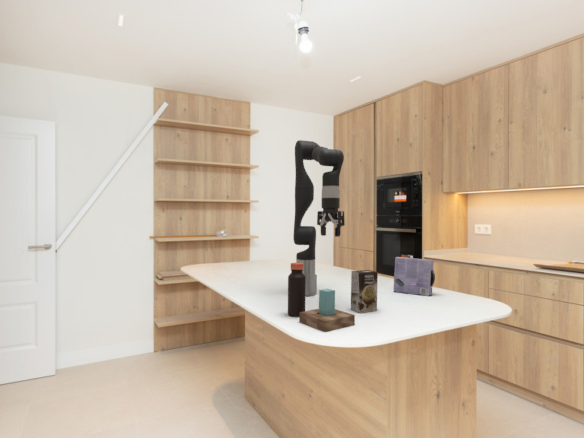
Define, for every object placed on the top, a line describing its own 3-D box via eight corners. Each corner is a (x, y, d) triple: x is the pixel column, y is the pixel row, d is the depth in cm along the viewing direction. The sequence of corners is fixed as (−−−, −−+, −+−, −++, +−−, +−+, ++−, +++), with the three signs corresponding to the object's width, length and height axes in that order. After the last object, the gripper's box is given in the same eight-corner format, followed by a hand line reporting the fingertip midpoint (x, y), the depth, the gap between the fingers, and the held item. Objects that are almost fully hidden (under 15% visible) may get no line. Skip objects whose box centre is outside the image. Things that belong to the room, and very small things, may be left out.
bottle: (299, 318, 141) (299, 265, 141) (284, 315, 145) (284, 263, 144) (308, 314, 147) (308, 263, 147) (293, 311, 150) (294, 261, 150)
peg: (327, 321, 137) (327, 288, 137) (334, 323, 134) (335, 290, 134) (318, 322, 135) (319, 289, 135) (326, 325, 132) (326, 291, 132)
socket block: (328, 315, 144) (328, 306, 144) (354, 324, 133) (354, 314, 133) (299, 321, 136) (299, 312, 136) (325, 331, 125) (325, 321, 125)
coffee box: (359, 313, 148) (360, 272, 148) (350, 309, 154) (350, 270, 154) (377, 310, 153) (378, 271, 152) (367, 307, 158) (368, 269, 158)
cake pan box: (434, 295, 184) (435, 259, 184) (432, 296, 180) (433, 260, 179) (396, 290, 194) (396, 256, 194) (393, 292, 190) (393, 257, 190)
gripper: (349, 197, 153) (348, 236, 153) (325, 198, 164) (325, 234, 164) (335, 196, 148) (335, 237, 148) (312, 197, 160) (312, 235, 160)
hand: (330, 236), depth 156 cm, fingers open, 8 cm apart
